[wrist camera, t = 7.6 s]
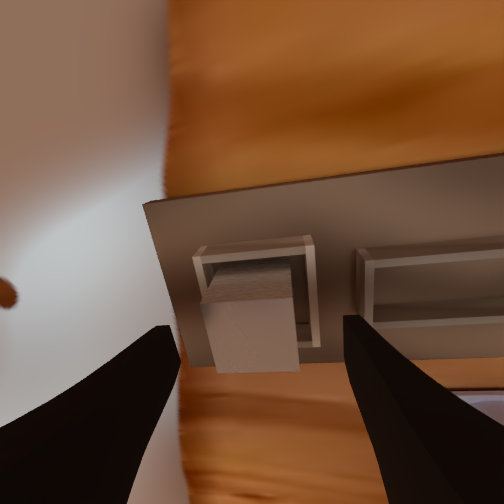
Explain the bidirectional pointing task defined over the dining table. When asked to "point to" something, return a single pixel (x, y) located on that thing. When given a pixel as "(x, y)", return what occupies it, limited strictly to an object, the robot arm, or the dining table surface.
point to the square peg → (252, 316)
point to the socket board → (354, 256)
